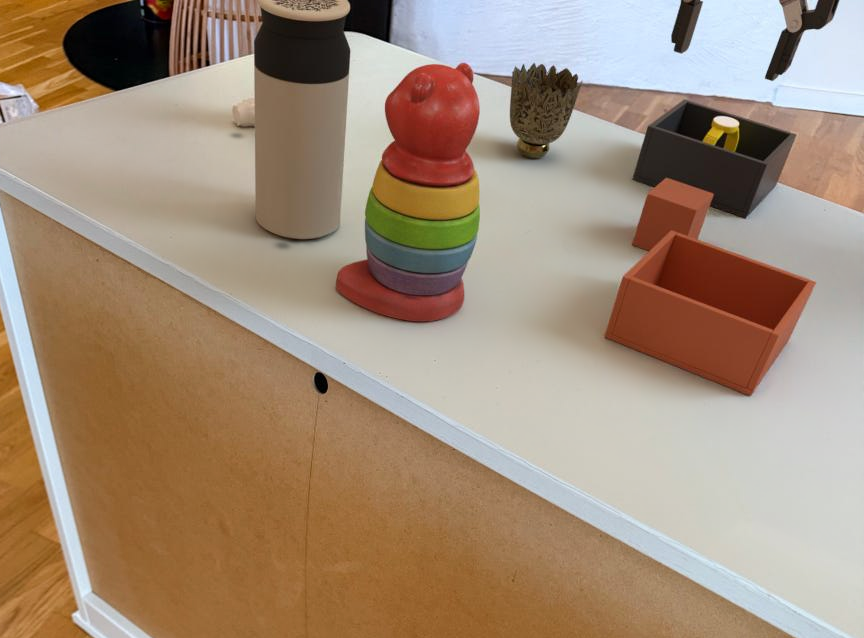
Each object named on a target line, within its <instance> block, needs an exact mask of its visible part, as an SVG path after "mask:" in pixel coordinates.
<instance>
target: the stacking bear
mask: <svg viewBox="0 0 864 638" xmlns="http://www.w3.org/2000/svg"><path fill="white" fill-rule="evenodd" d="M473 82H474V71H473V69H472V67H471V65H469V64H468V63H467V62H461V63H459V64H458V65H457V66H456V67H455V68H453V67H451V66H449V65H445V64H438V63H431V64H425V65H420V66H418V67H416V68H414V69H413V70H411V71H410V72H408V73H407V74H406V75H405V76H404V77H403V78H402V80H401V81H400V82H399V83H398V84H397V85H396V87H395V88H394V89H393V90H392V91H391V92H389V94H388V95H387V96H386V99H385V102H384V114H385V120H386V124H387V126H388V127H387V128H388V130H389V132H390V134H391V136H392V139H393V141H392V142H390V144H388V145H387V147H386V148H385V149H384V150H383V152H382V154H381V160H380V161H379V164H378V166H377V168H376V171H375V174H374V177H373V181H372V186H371V188H370V190H369V192H368V196H367V200H366V203H365V210H364V240H365V245H366V246H365V250H366V258H367V259H363V260H359V261H355V262H351V263H348V264H346V265H344V266H342V267H341V268H340V269H339V271H338V272H337V275H336V280H335V288H336V289H337V291H338V292H339V293H340V294H341V295H342V296H344V297H345V298H347V299H348V300H350V301H351V302H353V303H355V304H356V305H359V306H360V307H363V308H365V309H367V310H370V311H372V312H374V313H376V314H377V313H378V314H380V315H383V316H387V317H390V318H394V319H398V320H403V321H404V320H405V321H409V322H433V321H438V320H442V319H446V318H448V317H450V316H452V315H454V314H456V312H458V311H459V310H460V309H461V308H462V307H463V305H464V301H465V286H464V280H463V276H464V273H465V272H466V269H467V266H468V263H469V261H470V259H471V257H472V255H473V252H474V250H475V246H476V243H477V240H478V233H479V228H480V217H481V207H480V180H479V179H480V178H479V175H478V173H477V171H476V169H475V165H474V162H473V160H472V158H471V156H470V154H469V153H468V152H467V151H466V150H467V149H468V147H469V146H470V144H471V142H472V140H473V138H474V136H475V134H476V131H477V127H478V126H479V118H480V112H481V107H480V106H481V105H480V100H479V96H478V92H477V90H476V88H475V86H474V85H473Z"/></svg>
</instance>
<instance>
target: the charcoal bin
mask: <svg viewBox="0 0 864 638" xmlns="http://www.w3.org/2000/svg"><path fill="white" fill-rule="evenodd" d="M718 116H726V117H730V118H733V119H735V120H737V121H738V122H739V126H738V128H739V140H738V144H737V147H736V150H735V152H733V151H730V150H727V149H724V145H725V141H726V138H727V133H723V134H722V136H721V137H720V138H719V139H718V140H717V142H716V144H715V145H711V144H708V143H705V142H702V141H703V139H704V138H705V136H706V134H707V133H708V132H709V131H710V130H711V128H712V126H711V125H712V122H713V119H714V118H715V117H718ZM796 138H797V133H794V132H791V131H788V130H784V129H781V128H778V127H775V126H772V125H769V124H765V123H762V122H758V121H755V120H752V119H749V118H745V117H743V116H739V115H736V114H734V113H730V112H727V111H724V110H721V109H717V108H713V107H711V106H707V105H705V104H704V105H703V104H700V103H697V102H694V101H691V100H688V99H682V100H680V102H678V103H677V104H675V105H674V106H673V107H671V108H670V109H668V111H666V112H665V113H664V114H662V115H661V116H659V117H658V118H657V119H655V120H654V121H653V122H652V123H650V124H648V125H647V128H646V131H645V133H644V138H643V141H642V145H641V148H640V151H639V155H638V158H637V162H636V165H635V168H634V172H633V176H632V180H634V181H636V182H639V183H643V184H645V185H648V186H651V187H653V188H655V187H656V186H657V185H658V184H659V183H661V182H662V181H663V180H664V179H665V178H669V179H672V180H675V181H678V182H681V183H684V184H687V185H690V186H693V187H695V188H698V189H701V190H704V191H707V192H710V193H713V194H714V195H713V198H712V201H711V204H710V206H709V207H712V208H715V209H718V210H721V211H724V212H727V213H730V214H733V215H735V216H738V217H741V218H744V219H747V218H748V217H749V216H750V214H752V212H753V211H754V210H755V209H756V208H757V207H758V206H759V205H760V204H761V203H762V201H764V200H765V198H766V197H767V196H768V195H769V194H770V193H771V192H772V191H773V189H774V188H775V187H776V186H777V184H778V182H779V179H780V177H781V175H782V172H783V170H784V167H785V165H786V162H787V160H788V158H789V155H790V153H791V150H792V148H793V145H794V143H795V141H796Z"/></svg>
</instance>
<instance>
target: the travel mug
mask: <svg viewBox="0 0 864 638" xmlns="http://www.w3.org/2000/svg"><path fill="white" fill-rule="evenodd" d="M256 3H257V5H258V6H259V8H260V9H259V10H260V15H261V22H262V23H261V25H260V27H259V29H258V31H257V33H256V36H255V38H254V40H253V55H254V56H253V58H254V59H253V61H254V63H253V67H254V68H253V71H254V72H253V73H254V78H253V79H254V80H253V83H254V86H253V87H254V88H253V89H254V98H255V127H254V180H255V181H254V182H255V183H254V184H255V185H254V187H255V188H254V190H255V191H254V192H255V193H254V194H255V195H254V196H255V197H254V198H255V203H254V205H255V220H256V222H257V223H258V224H259V226H261V227H262V228H264V230H267V231H269V232H270V233H272V234H274V235H277V236H279V237H283V238H286V239H296V240H312V239H313V240H314V239H317V238H322V237H325V236H328V235H329V234H332V233H334V232H336V230H338V229H339V227H340V225H341V213H342V195H343V179H344V163H345V147H346V134H347V133H346V129H347V113H348V100H349V99H348V98H349V82H350V65H351V47H350V45H349V42H348V39H347V37H346V33H345V31H344V30H345V29H344V28H345V24H346V19H347V15H348V14H349V13H350V10H351V3H350V2H349V0H256Z"/></svg>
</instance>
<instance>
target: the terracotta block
mask: <svg viewBox="0 0 864 638" xmlns="http://www.w3.org/2000/svg"><path fill="white" fill-rule="evenodd" d="M713 195H714V194H713V193H710V192H707V191H704V190H701V189H698V188H695V187H693V186H690V185H687V184H684V183H681V182H678V181H675V180H672V179H669V178H665V179H664V180H663V181H662V182H661V183H659V184H658V185H657V186H656V187H653V188H652V189H651V190H650V191H648V193H647V194H646V198H645V200H644V204H643V206H642V210H641V213H640V217H639V220H638V223H637V226H636V230H635V234H634V236H633V239H632V242H631V245H632V246H635V247H638V248H640V249H643V250H645V251H648V252H649V251H650V250H651V249H652V248H653V247H654V246H655V245H656V244H657V243H659V242H660V241H661V240H662V239H663V238H664V237H665V236H666V235H667V234H668V233H669V232H670V231H671V230H672V231H675V232H677V233H681V234H683V235H686V236H689V237H692V238H695V239H697V240H699V237H700V234H701V231H702V228H703V226H704V223H705V220H706V217H707V215H708V212H709V209H710V207H711V206H710V204H711V201H712V198H713Z"/></svg>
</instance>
